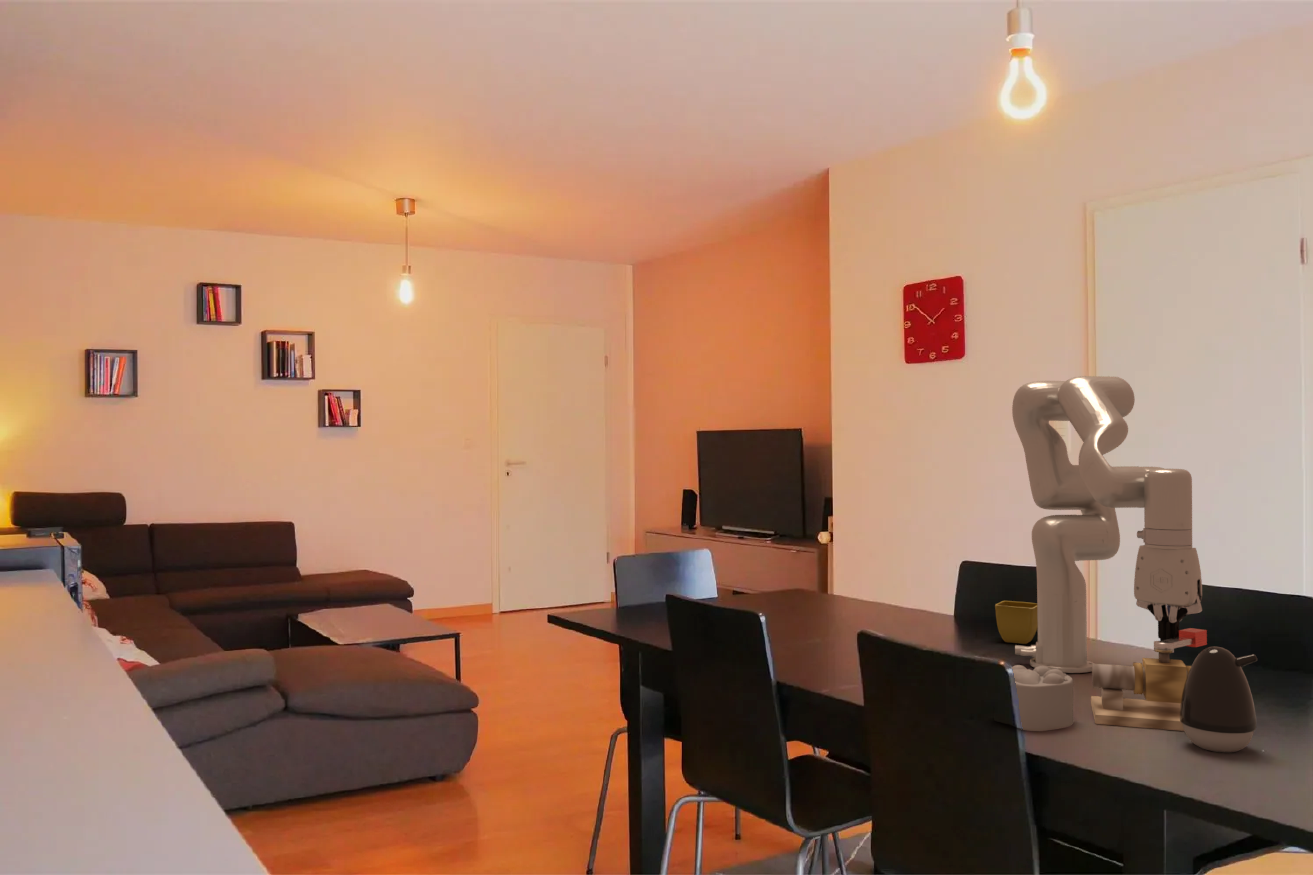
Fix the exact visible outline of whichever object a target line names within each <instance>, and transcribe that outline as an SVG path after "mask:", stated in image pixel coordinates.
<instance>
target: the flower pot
mask: <svg viewBox="0 0 1313 875" xmlns="http://www.w3.org/2000/svg"><path fill="white" fill-rule="evenodd" d="M994 608H995V619H996V625H997V630H998V632H999V635H1000V637H1001V639H1002V640H1003V641H1004V642H1005V643H1013V644H1022V645H1028V644H1029V643H1030V642H1031V641H1032V640H1033V639H1034V637H1035V635H1036V632H1038V620H1037V603H1035V602H1026V601H1015V600H1013V601H1012V600H1002V601H1000V602H998V603H995V605H994Z"/></svg>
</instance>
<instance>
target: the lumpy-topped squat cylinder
mask: <svg viewBox="0 0 1313 875" xmlns="http://www.w3.org/2000/svg"><path fill="white" fill-rule="evenodd" d="M1011 668H1012V669H1013V673H1014V678H1015V683H1016V688H1017V694H1018V698H1019V709H1020V716H1021V722H1022V727H1023V731H1028V732H1030V731H1031V732H1045V731H1053V730H1058V729H1064V728H1069V727H1071V726H1072V725H1073V724H1074V680H1073V678H1072V676H1070V675H1068V674H1067V673H1063V672H1062V671H1061V670H1059V669H1052V670H1051V669H1050V668H1048V667H1045V666H1038V667H1036V668H1033V670H1032V669H1031V668H1029V669H1027V668H1026V667H1025V666H1024V665H1020V664H1015V665H1013V666H1012V667H1011Z"/></svg>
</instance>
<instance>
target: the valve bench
mask: <svg viewBox="0 0 1313 875" xmlns="http://www.w3.org/2000/svg"><path fill="white" fill-rule="evenodd" d="M1191 666H1192V665H1186V664H1185V663H1184V661H1183V660H1182V659H1170V653H1159V652H1158V658H1154V657H1153V658H1151V657H1142V662H1133V663H1132V665H1120V664H1105V663H1104V664H1103V663H1094V664H1092V671H1091V676H1092V678H1091V680H1092V688H1093V689H1094V688H1096V689H1101V695H1099V696H1098V695H1096V696H1095V695H1090V706H1091V710H1092V715H1093V719H1094V724H1096V725H1107V726H1118V727H1119V726H1120V727H1130V728H1143V729H1144V728H1145V729H1155V730H1168V731H1169V730H1170V731H1180V732H1185V731H1184V728H1183V724H1182V723H1181V721H1180V705H1181V698H1182V693H1183V688H1184V685H1185V681H1186V678H1187V676H1188V673H1189V671H1190V668H1191ZM1124 690H1125V691H1133V694H1134V695H1141V696H1142V695H1143V696H1144V699H1139V698H1126V697H1125V698H1124V692H1123V691H1124Z"/></svg>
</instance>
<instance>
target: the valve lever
mask: <svg viewBox="0 0 1313 875" xmlns="http://www.w3.org/2000/svg"><path fill="white" fill-rule="evenodd" d="M1207 631H1208V630H1207V629H1200V628H1193V627H1192V628H1191V627H1189V628H1184V629H1179V637H1177V638H1172V639H1168V640H1163V641H1160V640H1154V641H1153V651H1154V652H1156V653H1158V654H1159V653H1169V654H1173V653H1175V649H1177V648H1183V647H1189V648H1190V647H1191V648H1198V647H1203V646H1207V645H1208V643H1207V642H1208V638H1207V637H1208V634H1207V633H1208V632H1207Z"/></svg>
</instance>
